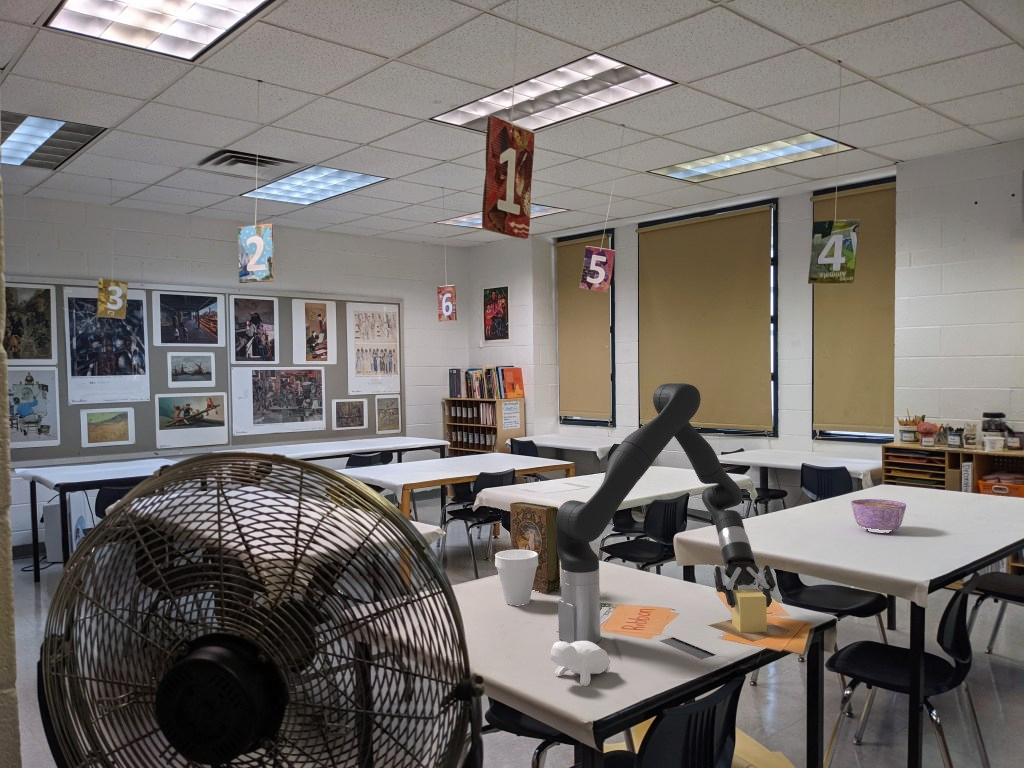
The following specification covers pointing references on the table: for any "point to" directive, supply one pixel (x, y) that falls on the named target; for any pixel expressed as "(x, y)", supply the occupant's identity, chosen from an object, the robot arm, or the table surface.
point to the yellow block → (749, 611)
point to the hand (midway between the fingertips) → (750, 605)
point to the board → (750, 636)
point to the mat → (687, 648)
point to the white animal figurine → (580, 659)
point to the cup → (516, 574)
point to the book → (537, 541)
